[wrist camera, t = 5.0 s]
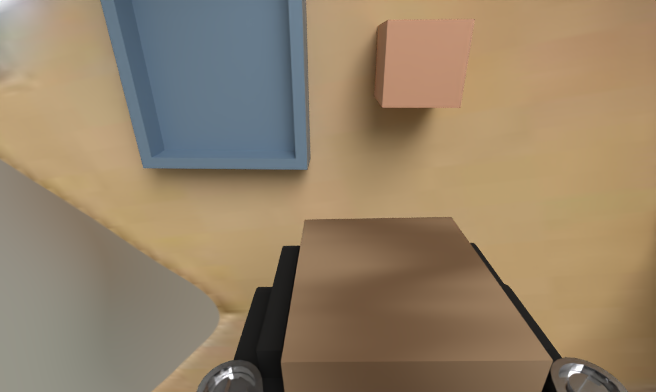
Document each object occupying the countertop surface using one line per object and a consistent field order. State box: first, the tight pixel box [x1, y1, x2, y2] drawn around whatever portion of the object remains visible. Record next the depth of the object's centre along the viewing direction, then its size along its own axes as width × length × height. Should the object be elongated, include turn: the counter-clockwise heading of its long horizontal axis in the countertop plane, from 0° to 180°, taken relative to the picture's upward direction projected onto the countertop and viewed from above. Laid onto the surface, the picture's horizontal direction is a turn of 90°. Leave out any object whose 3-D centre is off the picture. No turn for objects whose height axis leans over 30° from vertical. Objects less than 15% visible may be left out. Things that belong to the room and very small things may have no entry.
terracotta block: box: [374, 19, 475, 108], centre depth 20 cm, size 4×4×5 cm
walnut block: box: [281, 217, 553, 392], centre depth 9 cm, size 4×4×5 cm
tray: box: [100, 0, 310, 170], centre depth 21 cm, size 12×15×2 cm
